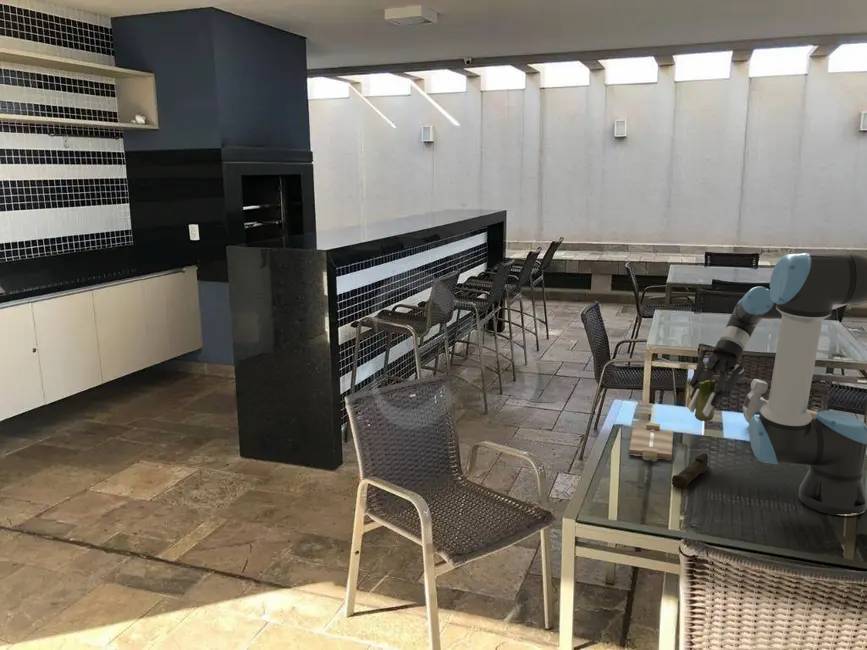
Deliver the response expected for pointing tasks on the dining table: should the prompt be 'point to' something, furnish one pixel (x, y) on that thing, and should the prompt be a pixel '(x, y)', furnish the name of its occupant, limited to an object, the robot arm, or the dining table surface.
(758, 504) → the dining table surface
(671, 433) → the tan wooden board
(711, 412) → the fennel bulb
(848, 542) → the dining table surface
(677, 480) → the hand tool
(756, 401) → the hammer
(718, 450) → the dining table surface
